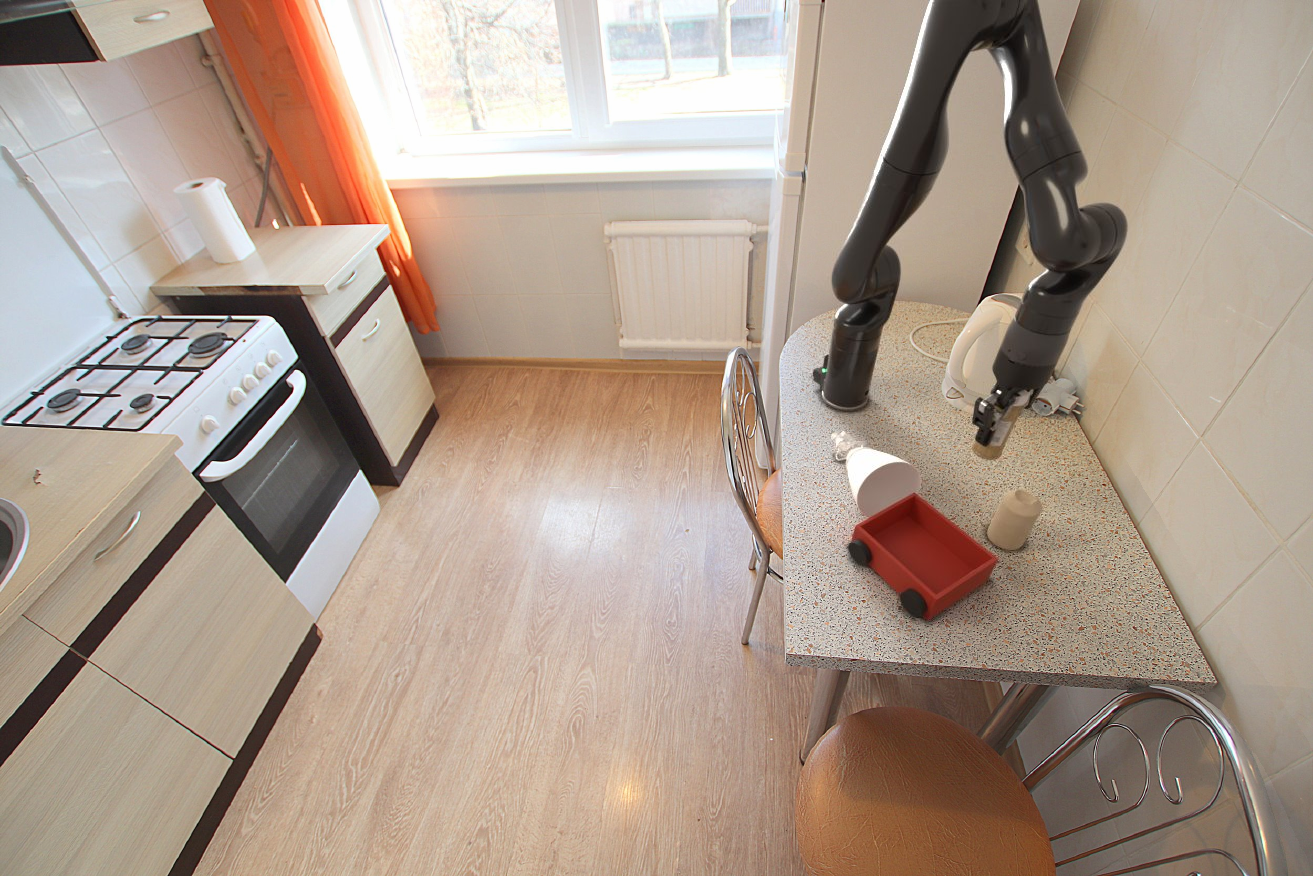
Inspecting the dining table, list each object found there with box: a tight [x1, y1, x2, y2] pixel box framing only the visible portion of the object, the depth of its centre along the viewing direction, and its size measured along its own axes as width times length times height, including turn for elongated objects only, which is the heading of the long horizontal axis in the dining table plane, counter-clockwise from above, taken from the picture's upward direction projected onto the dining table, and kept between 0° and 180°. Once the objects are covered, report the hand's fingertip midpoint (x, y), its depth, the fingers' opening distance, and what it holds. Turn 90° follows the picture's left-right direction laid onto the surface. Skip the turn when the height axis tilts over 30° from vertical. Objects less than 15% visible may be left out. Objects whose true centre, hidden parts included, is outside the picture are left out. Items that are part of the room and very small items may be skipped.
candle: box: [986, 489, 1043, 551], centre depth 98 cm, size 6×6×10 cm
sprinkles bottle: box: [971, 390, 1030, 461], centre depth 96 cm, size 5×5×14 cm
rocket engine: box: [830, 430, 922, 519], centre depth 110 cm, size 12×12×18 cm
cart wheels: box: [847, 540, 927, 618], centre depth 97 cm, size 15×16×4 cm
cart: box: [850, 492, 1000, 622], centre depth 97 cm, size 16×13×6 cm
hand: (992, 436), depth 98 cm, fingers closed on sprinkles bottle, 4 cm apart
